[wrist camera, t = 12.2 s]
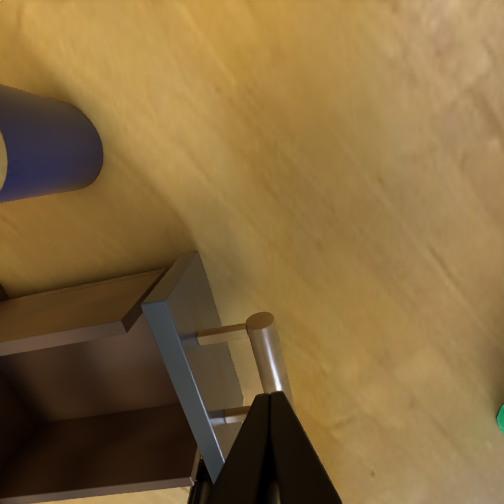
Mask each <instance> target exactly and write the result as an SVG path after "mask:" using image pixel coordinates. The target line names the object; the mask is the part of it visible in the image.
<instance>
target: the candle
mask: <svg viewBox="0 0 504 504" xmlns="http://www.w3.org/2000/svg"><path fill="white" fill-rule="evenodd" d="M496 420H497V422H498V425H499V428H500V430H501V431H502V433H503V434H504V404H503V405H502V407H501V409H500V411H499V414H498V416H497V419H496Z"/></svg>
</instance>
